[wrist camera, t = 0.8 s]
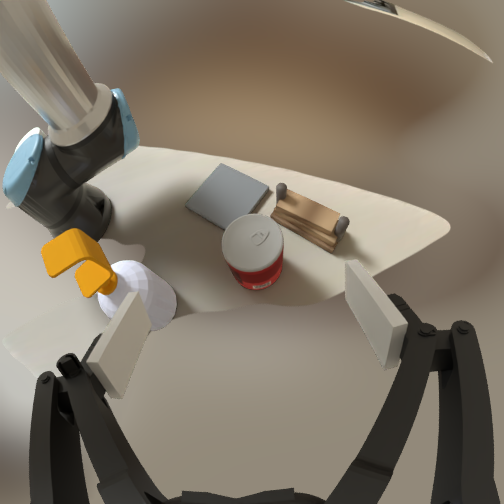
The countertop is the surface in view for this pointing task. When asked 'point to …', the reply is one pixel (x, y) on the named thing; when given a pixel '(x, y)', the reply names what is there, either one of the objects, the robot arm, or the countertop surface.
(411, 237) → the countertop surface
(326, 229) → the offcut rack
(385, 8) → the countertop surface
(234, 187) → the slate mat
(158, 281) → the soap bottle
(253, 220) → the canned food
